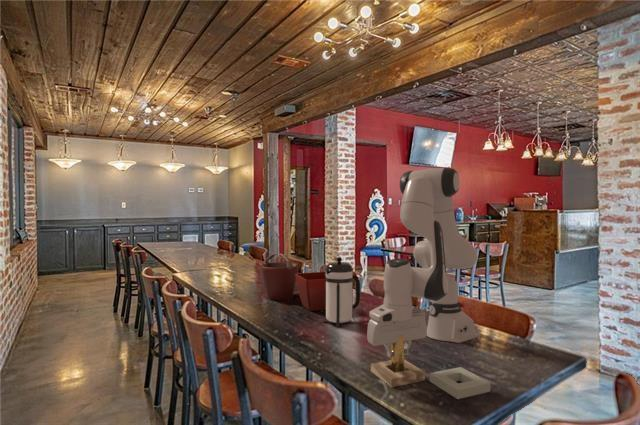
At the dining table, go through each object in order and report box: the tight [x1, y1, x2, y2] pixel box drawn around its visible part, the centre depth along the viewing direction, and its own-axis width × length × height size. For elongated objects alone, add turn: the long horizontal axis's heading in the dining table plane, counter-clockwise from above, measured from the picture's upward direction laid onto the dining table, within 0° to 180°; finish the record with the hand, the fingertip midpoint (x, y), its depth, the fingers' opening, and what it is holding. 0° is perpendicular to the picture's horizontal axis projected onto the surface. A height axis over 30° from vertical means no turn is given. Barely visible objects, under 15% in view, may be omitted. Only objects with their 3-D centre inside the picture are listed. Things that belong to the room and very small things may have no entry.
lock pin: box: [390, 335, 405, 373], centre depth 123 cm, size 4×4×12 cm
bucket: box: [259, 253, 299, 301], centre depth 230 cm, size 24×22×25 cm
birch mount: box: [370, 359, 426, 388], centre depth 123 cm, size 12×12×2 cm
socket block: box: [429, 366, 491, 400], centre depth 116 cm, size 12×12×2 cm
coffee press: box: [322, 256, 361, 328], centre depth 180 cm, size 17×16×30 cm
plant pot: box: [295, 271, 326, 312], centre depth 206 cm, size 19×19×17 cm
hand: (397, 355), depth 123 cm, fingers closed on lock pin, 4 cm apart
